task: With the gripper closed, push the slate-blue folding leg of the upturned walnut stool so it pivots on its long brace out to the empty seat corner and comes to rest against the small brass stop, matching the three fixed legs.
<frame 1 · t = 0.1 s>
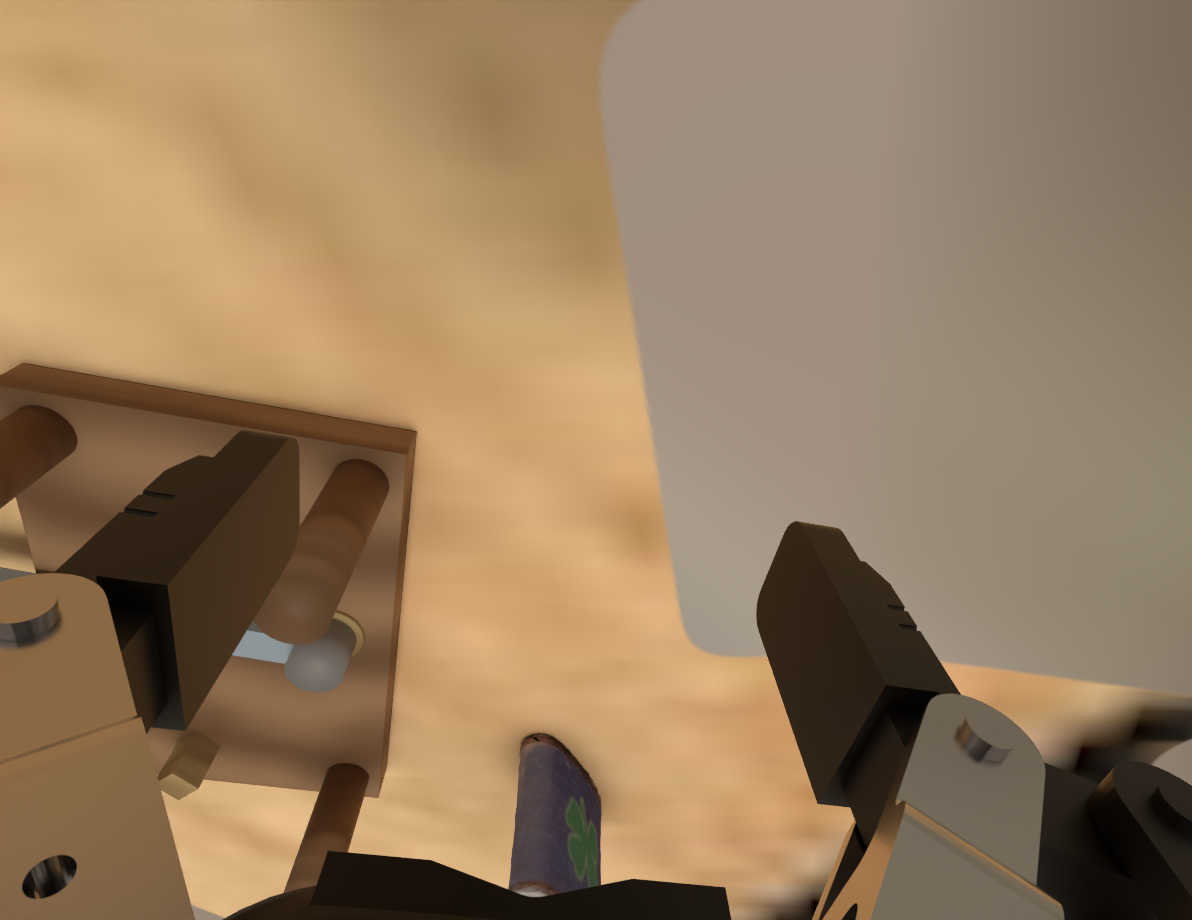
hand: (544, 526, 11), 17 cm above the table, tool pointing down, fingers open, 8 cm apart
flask: (564, 773, 42), on the table
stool: (241, 606, 34), on the table
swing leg: (104, 672, 28), point 6 cm above the table, hinge at 0.0°
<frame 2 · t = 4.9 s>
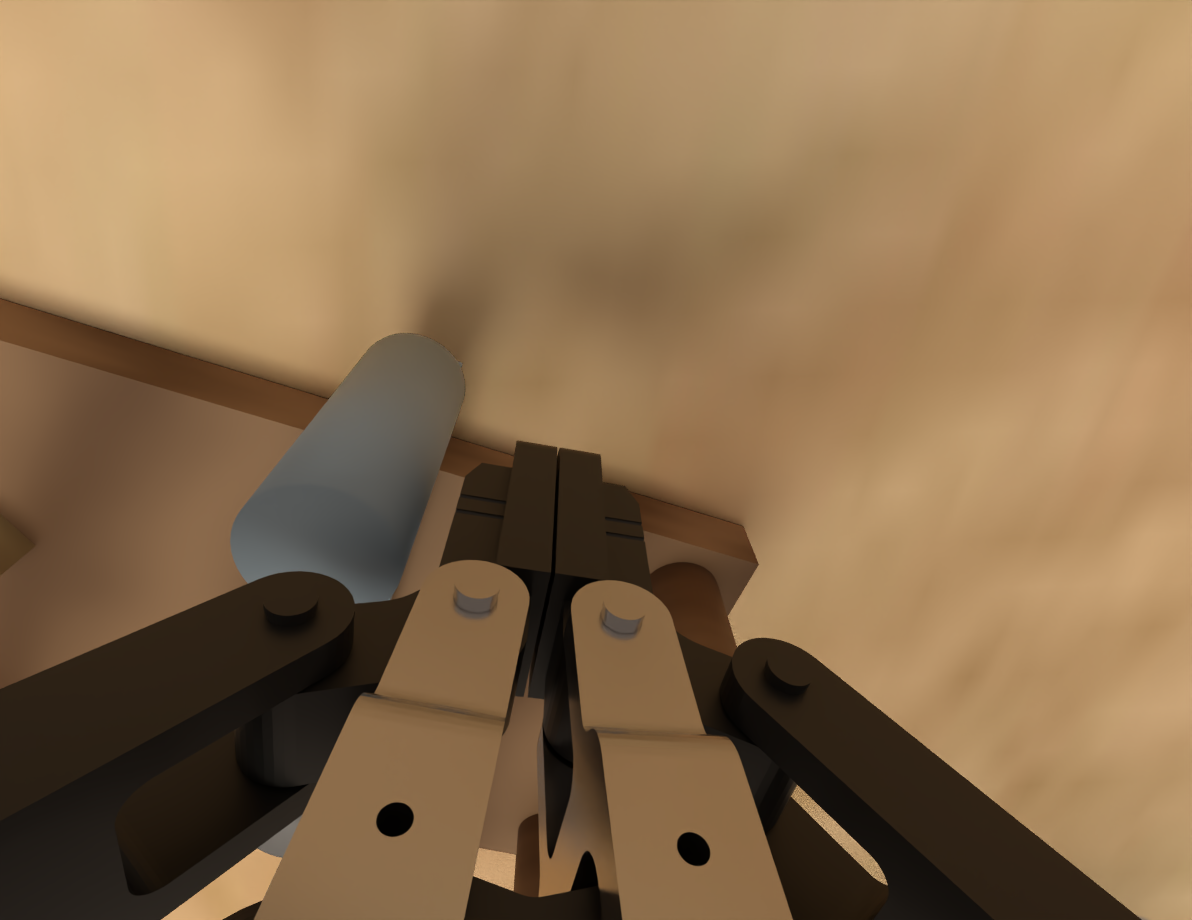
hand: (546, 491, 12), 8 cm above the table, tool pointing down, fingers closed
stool: (325, 614, 23), on the table
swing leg: (312, 711, 16), point 6 cm above the table, hinge at 2.7°, touching gripper
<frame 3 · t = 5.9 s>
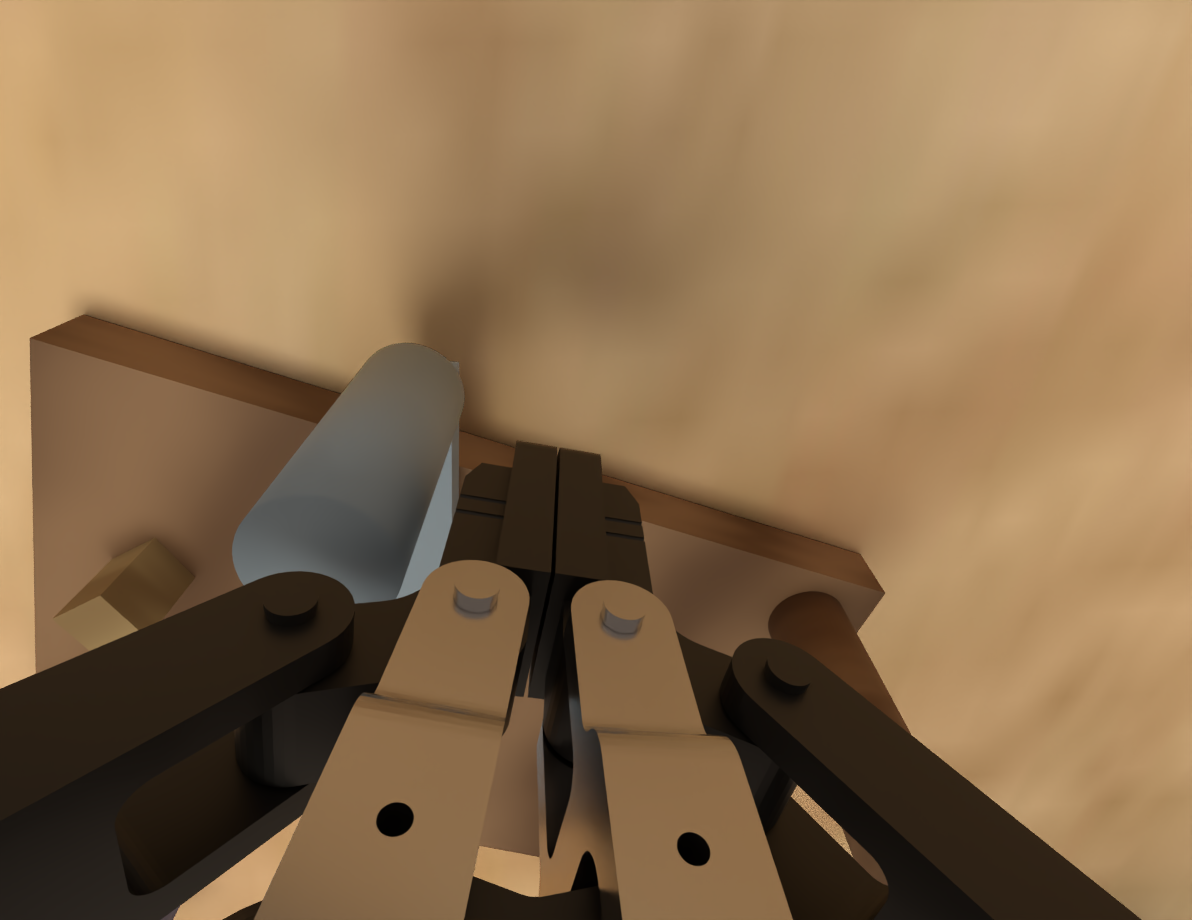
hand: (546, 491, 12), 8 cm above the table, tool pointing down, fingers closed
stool: (449, 639, 24), on the table
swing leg: (399, 729, 17), point 6 cm above the table, hinge at 17.8°, touching gripper
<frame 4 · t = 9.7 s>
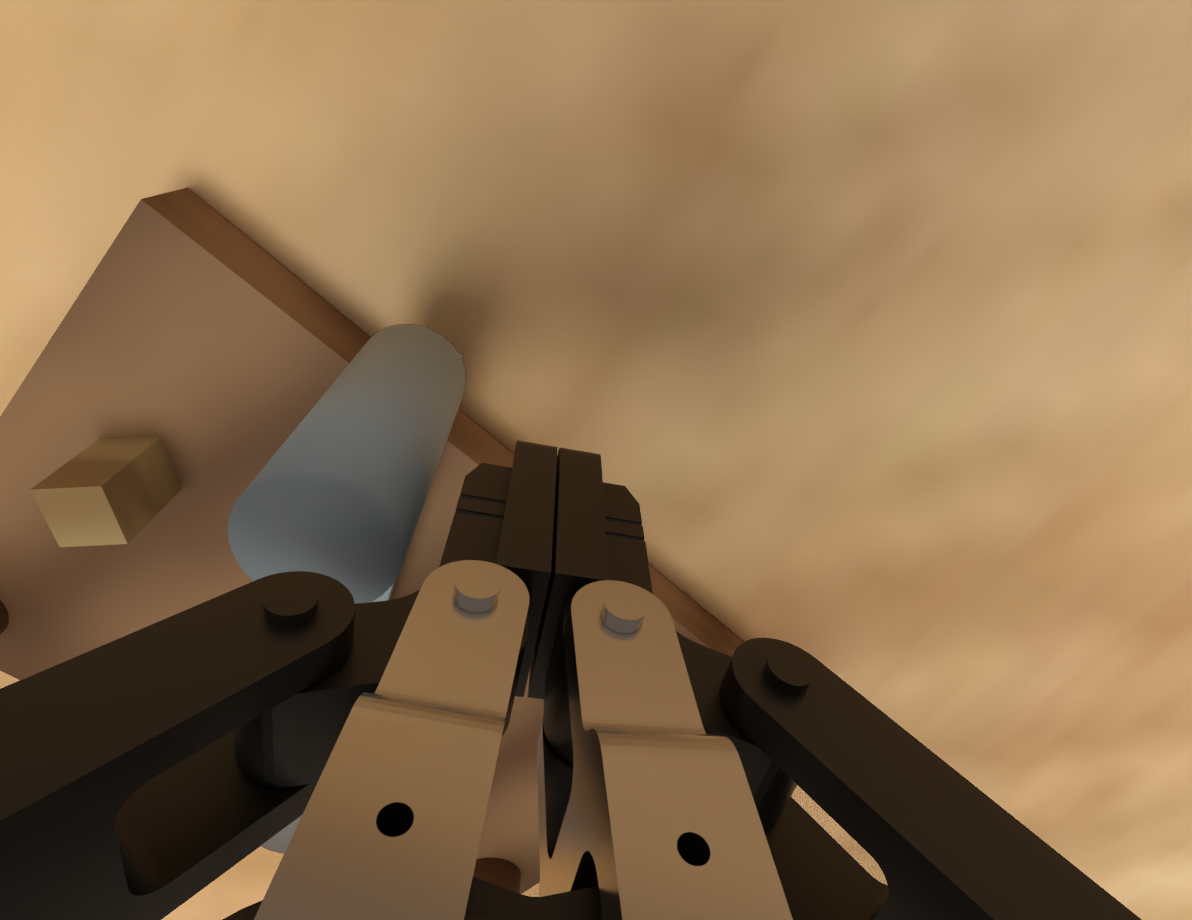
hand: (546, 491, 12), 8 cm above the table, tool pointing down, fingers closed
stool: (390, 624, 23), on the table
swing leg: (312, 705, 16), point 6 cm above the table, hinge at 27.1°, touching gripper
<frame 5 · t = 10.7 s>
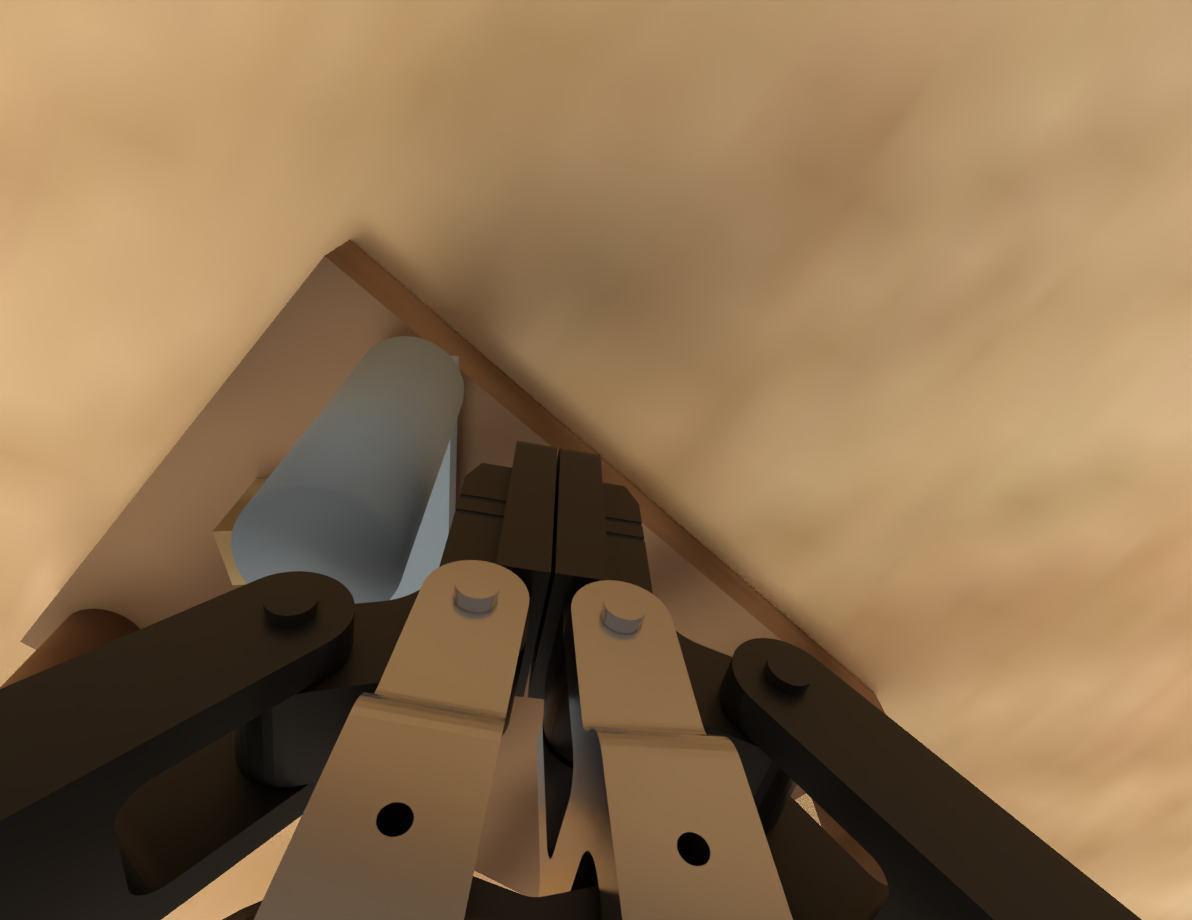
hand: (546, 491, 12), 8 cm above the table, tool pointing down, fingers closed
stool: (499, 649, 24), on the table
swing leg: (393, 725, 17), point 6 cm above the table, hinge at 41.1°, touching gripper
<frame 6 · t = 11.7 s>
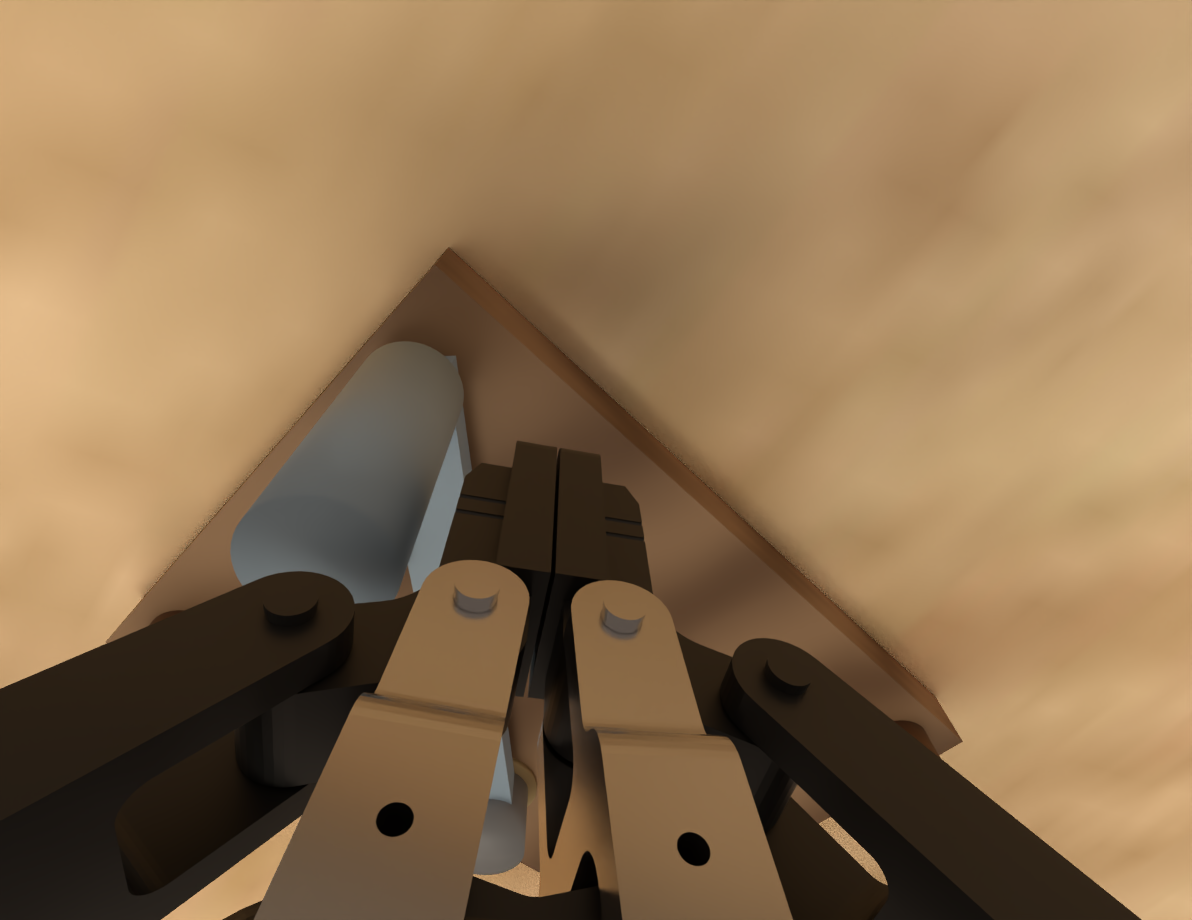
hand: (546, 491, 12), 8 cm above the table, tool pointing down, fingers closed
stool: (568, 652, 24), on the table
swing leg: (442, 727, 17), point 6 cm above the table, hinge at 50.0°, touching gripper, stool
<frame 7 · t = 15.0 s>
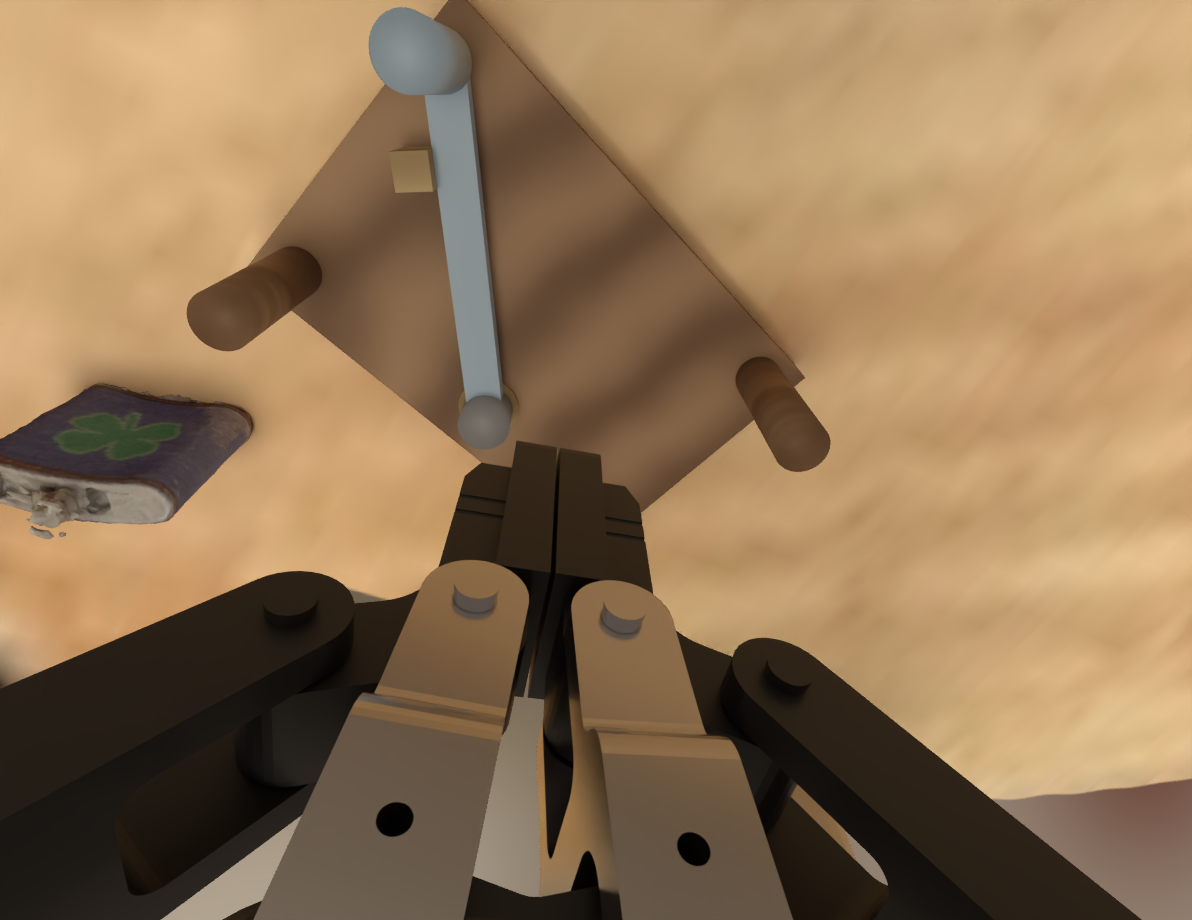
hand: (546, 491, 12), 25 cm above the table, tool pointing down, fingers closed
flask: (172, 413, 38), on the table
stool: (540, 316, 36), on the table
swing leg: (458, 276, 29), point 6 cm above the table, hinge at 50.0°, touching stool
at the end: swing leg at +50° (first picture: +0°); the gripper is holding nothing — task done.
